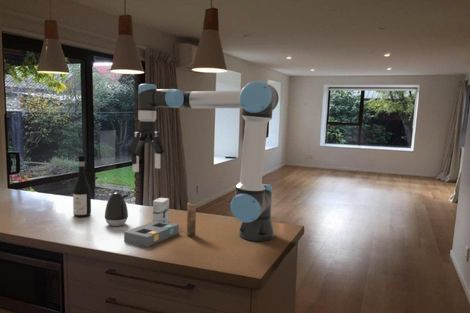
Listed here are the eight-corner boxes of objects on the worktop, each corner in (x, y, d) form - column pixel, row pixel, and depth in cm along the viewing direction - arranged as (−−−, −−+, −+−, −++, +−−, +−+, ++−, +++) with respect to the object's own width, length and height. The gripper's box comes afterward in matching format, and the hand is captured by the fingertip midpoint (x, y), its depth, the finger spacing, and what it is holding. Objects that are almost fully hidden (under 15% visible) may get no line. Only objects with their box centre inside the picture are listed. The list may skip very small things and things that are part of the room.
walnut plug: (197, 235, 160) (197, 203, 158) (192, 237, 156) (193, 204, 155) (189, 233, 161) (190, 202, 160) (185, 235, 158) (185, 203, 157)
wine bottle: (84, 218, 179) (84, 156, 176) (70, 217, 180) (69, 155, 177) (94, 214, 187) (93, 155, 184) (79, 213, 188) (79, 154, 185)
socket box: (178, 233, 161) (178, 223, 160) (147, 247, 143) (148, 236, 143) (156, 228, 166) (156, 219, 166) (124, 241, 149) (124, 231, 148)
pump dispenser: (124, 228, 165) (124, 195, 164) (101, 227, 165) (101, 194, 164) (131, 222, 176) (131, 190, 174) (109, 221, 175) (109, 189, 174)
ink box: (162, 227, 169) (162, 202, 168) (152, 226, 170) (152, 201, 169) (169, 222, 177) (169, 198, 176) (159, 221, 178) (160, 197, 177)
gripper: (159, 120, 171) (159, 166, 174) (118, 120, 150) (118, 172, 152) (172, 121, 168) (172, 167, 170) (132, 120, 146) (132, 174, 148)
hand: (147, 169), depth 161 cm, fingers open, 13 cm apart
